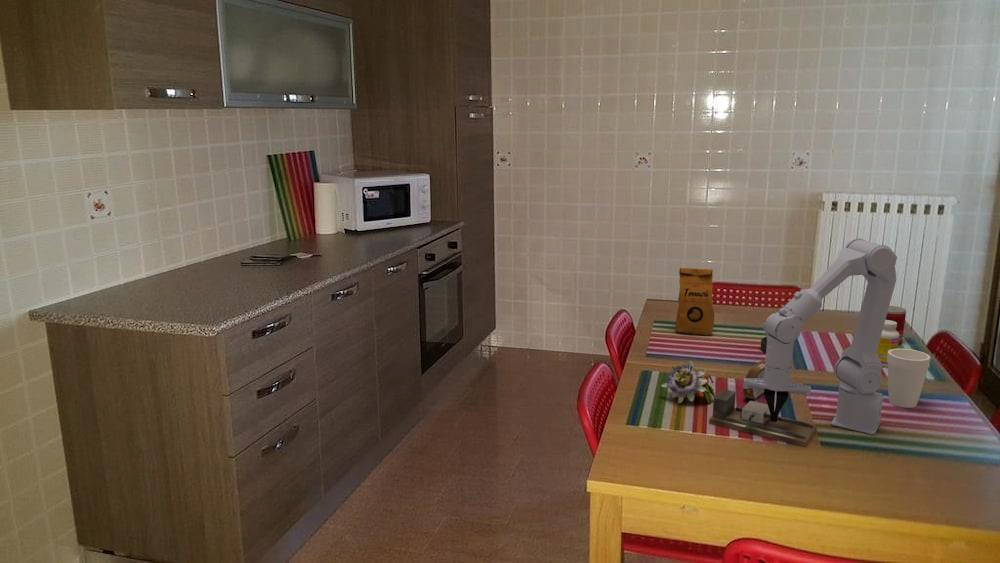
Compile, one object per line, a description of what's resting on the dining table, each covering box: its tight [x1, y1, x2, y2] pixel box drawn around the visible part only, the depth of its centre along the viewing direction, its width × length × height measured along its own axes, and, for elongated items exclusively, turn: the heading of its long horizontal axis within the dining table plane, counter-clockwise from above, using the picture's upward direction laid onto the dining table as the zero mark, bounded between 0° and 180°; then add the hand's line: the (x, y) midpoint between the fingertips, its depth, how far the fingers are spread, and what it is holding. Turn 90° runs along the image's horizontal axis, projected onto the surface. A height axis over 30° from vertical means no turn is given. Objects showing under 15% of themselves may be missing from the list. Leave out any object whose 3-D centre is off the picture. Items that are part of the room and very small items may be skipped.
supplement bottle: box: [876, 320, 899, 368], centre depth 214 cm, size 7×7×13 cm
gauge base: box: [708, 388, 818, 447], centre depth 173 cm, size 22×10×6 cm, turn 54°
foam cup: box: [887, 348, 932, 409], centre depth 186 cm, size 10×9×13 cm
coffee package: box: [675, 267, 715, 336], centre depth 244 cm, size 10×12×22 cm
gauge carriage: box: [740, 400, 770, 425], centre depth 173 cm, size 6×8×3 cm
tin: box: [742, 359, 765, 400], centre depth 193 cm, size 15×3×8 cm, turn 141°
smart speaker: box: [760, 336, 767, 354], centre depth 227 cm, size 9×9×4 cm
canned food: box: [886, 305, 907, 346], centre depth 234 cm, size 8×8×11 cm
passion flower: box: [660, 360, 716, 405], centre depth 190 cm, size 11×11×12 cm
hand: (773, 420), depth 172 cm, fingers closed
